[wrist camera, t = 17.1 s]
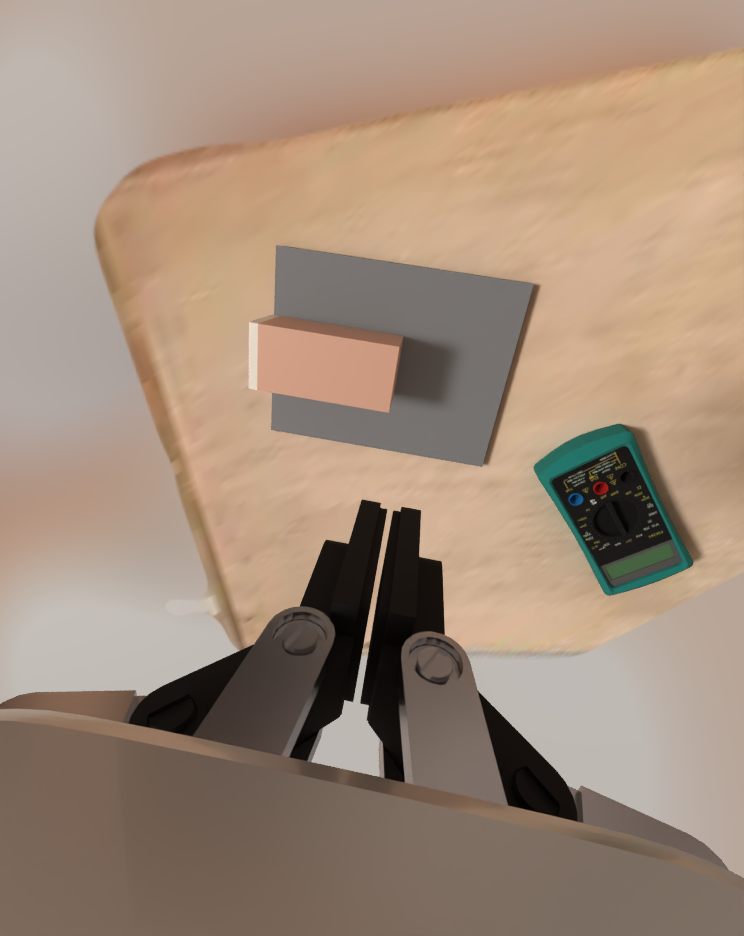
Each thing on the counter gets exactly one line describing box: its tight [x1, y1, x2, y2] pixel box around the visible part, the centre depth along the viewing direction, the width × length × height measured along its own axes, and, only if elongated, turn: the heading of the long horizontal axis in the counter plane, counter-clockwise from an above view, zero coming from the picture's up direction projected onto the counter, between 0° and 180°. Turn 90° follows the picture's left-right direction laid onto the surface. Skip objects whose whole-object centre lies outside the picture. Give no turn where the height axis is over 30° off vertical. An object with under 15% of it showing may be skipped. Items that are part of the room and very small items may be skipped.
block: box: [249, 315, 404, 413], centre depth 30 cm, size 4×4×10 cm
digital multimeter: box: [534, 424, 693, 596], centre depth 35 cm, size 7×15×3 cm, turn 35°
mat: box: [271, 245, 534, 467], centre depth 32 cm, size 18×14×1 cm
